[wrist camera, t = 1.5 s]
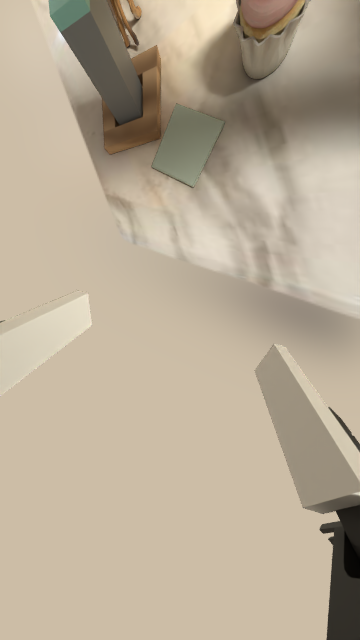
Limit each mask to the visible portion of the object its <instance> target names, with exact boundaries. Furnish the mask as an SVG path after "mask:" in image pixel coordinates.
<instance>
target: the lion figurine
mask: <svg viewBox="0 0 360 640" xmlns="http://www.w3.org/2000/svg"><path fill="white" fill-rule="evenodd" d="M110 1H111V4H112V7H113V9H114V12H115V15H116V18H117V22H118V25H119V29H120V32H121V34H122V36H123V39H124V43H125V45H126V47H128V46H129V45H130V38H129V36H128V35H127V34H126V32H125V29H124V26H123V23H122V20H123V22H124V24H125V26H126V28H127V29H128V31H129V33H130V35H131V36H132V38H133V40H134V42H135V44H136V45H137V46H138V45H139V41H138V39H137V37H136V35H135V33H134V32H133V31H132V29H131V28H130V26H129V24H128V22H127V20H126V17H125V15H124V12H123V10H122V7H121V4H120V2H119V0H110ZM127 1H128V3H129V5H130V9H131V12H132V14H133V15H134V16H135V18H136V19H139V18H140V17H141V9H140V7H139V6H137V7H135V5H134V2H133V0H127ZM119 12H120V13H119ZM120 15H121V17H122V20H121V17H120Z"/></svg>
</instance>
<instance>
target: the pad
mask: <svg viewBox="0 0 360 640" xmlns="http://www.w3.org/2000/svg"><path fill="white" fill-rule="evenodd" d="M224 124H225V121H222V120H220V119H217V118H214V117H212V116H209V115H206V114H203V113H201V112H198V111H195V110H193V109H190V108H187V107H185V106H182V105H179V104H177V103H176V105H175V108H174V110H173V113H172V115H171V118H170V120H169V123H168V126H167V128H166V131H165V133H164V136H163V138H162V141H161V143H160V146H159V148H158V151H157V154H156V156H155V159H154V161H153V164H152V168H154V169H156V170H158V171H160V172H162V173H164V174H166V175H168V176H170V177H172V178H174V179H176V180H179V181H181V182H183V183H185V184H187V185H189V186H191V187H193V188H194V186H195V184H196V182H197V180H198V178H199V176H200V174H201V171H202V169H203V167H204V165H205V163H206V161H207V159H208V157H209V155H210V153H211V151H212V149H213V147H214V145H215V143H216V141H217V139H218V137H219V135H220V132H221V130H222V128H223V126H224Z"/></svg>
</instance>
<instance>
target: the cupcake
mask: <svg viewBox="0 0 360 640" xmlns="http://www.w3.org/2000/svg"><path fill="white" fill-rule="evenodd" d="M310 1H311V0H236V4H237V8H238V12H237V14H236V17H235V19H234V27H235V29H236V32H237V34H238V37H239V39H240V45H241V51H242V59H243V66H244V70H245V72H246V74H247V75H248V76H249V77H251V78H253V79H260V78H264V77H266V76H268V75H269V74H271V73H272V72H273V71H275V70H276V69H277V68H278V66H279V65H280V64H281V63H282V61H283V60H284V58H285V56H286V55H287V53H288V50H289V48H290V46H291V43H292V40H293V38H294V35H295V33H296V31H297V28H298V26H299V23H300V21H301V19H302V16H303V15H304V12H305V10H306V8H307V6H308V4H309V3H310Z"/></svg>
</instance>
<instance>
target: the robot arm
mask: <svg viewBox="0 0 360 640" xmlns="http://www.w3.org/2000/svg"><path fill="white" fill-rule="evenodd" d="M90 326H92V321H91V312H90V304H89V295H88V293H86V292H83V291H79V290H78V291H75V292H72V293H70V294H68V295H65V296H63V297H60V298H58V299H56V300H53V301H51V302H49V303H46V304H44V305H42V306H39V307H37V308H34V309H32V310H29V311H27V312H25V313H22V314H20V315H17V316H15V317H13V318H10V319H8V320H4V321H1V322H0V396H1V395H3V394H4V393H5V392H6V391H8V390H9V389H10V388H12V387H13V386H14V385H16V384H17V383H18V382H19V381H21V380H22V379H23V378H25V377H26V376H27V375H28V374H30V373H31V372H32V371H33V370H35V369H36V368H38V367H39V366H40V365H41V364H43V363H44V362H45V361H47V360H48V359H49V358H50V357H52V356H53V355H54V354H56V353H57V352H58V351H59V350H61V349H62V348H63V347H64V346H66V345H67V344H69V343H70V342H71V341H72V340H74V339H75V338H76V337H78V336H79V335H80V334H82V333H83V332H84V331H85V330H87V329H88V328H89V327H90ZM255 373H256V376H257V379H258V382H259V385H260V388H261V390H262V393H263V396H264V399H265V401H266V404H267V407H268V410H269V413H270V416H271V419H272V422H273V424H274V427H275V430H276V433H277V436H278V438H279V441H280V444H281V447H282V450H283V453H284V456H285V458H286V461H287V464H288V467H289V470H290V472H291V475H292V478H293V481H294V484H295V487H296V490H297V493H298V495H299V498H300V501H301V504H302V507H303V508H305V509H309V510H312V511H315V512H318V513H322V514H324V513H329V512H333V511H336V513H337V515H338V517H339V519H340V521H338V522H332V523H327V524H322V525H321V527H320V531H321V532H322V533H331V532H334V536H333V537H330V538H329V539H328V540H329V541H330V542H331V543H332V544H333V556H332V571H331V585H330V600H329V613H328V627H327V628H328V629H327V640H360V444H359V442H358V441H357V440H356V438H355V437H354V436H352V434H351V431H350V430H349V429H348V427H347V426H346V425H345V423H344V422H343V421H342V419H341V418H340V417H339V416H338V415H337V414H336V413H335V412H334V411H333V410H332V409H331V408H330V407H327V405H326V404H325V403H324V401H323V399H322V398H321V397H320V395H319V394H318V392H317V391H316V390H315V388H314V387H313V386H312V384H311V382H310V381H309V380H308V378H307V377H306V375H305V374H304V373H303V371H302V370H301V368H300V367H299V366H298V364H297V363H296V361H295V360H294V358H293V357H292V356H291V354H290V353H289V351H288V350H287V349H286V347H284V346H281V345H277V344H273V346H272V347H271V348H270V350H269V351H268V352H267V354H266V355H265V357H264V358H263V360H262V361H261V362H260V364H259V365H258V367H257V368H256V369H255Z"/></svg>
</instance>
